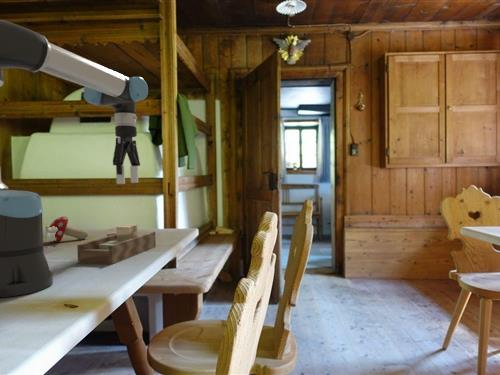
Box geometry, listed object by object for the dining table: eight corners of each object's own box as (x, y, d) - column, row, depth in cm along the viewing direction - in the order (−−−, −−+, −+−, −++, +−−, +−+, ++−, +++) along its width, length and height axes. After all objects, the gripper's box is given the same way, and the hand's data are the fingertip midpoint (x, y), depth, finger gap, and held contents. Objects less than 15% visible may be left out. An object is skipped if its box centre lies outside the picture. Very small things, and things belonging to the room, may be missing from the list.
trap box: (112, 264, 111) (111, 246, 111) (78, 262, 114) (77, 245, 114) (155, 246, 138) (155, 232, 137) (126, 246, 140) (126, 231, 140)
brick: (128, 243, 148) (128, 231, 148) (106, 244, 146) (106, 233, 145) (130, 237, 164) (129, 226, 164) (109, 238, 161) (109, 227, 161)
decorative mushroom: (93, 218, 161) (56, 208, 154) (90, 234, 152) (51, 225, 145) (84, 236, 165) (47, 228, 158) (81, 253, 157) (42, 245, 149)
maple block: (129, 241, 127) (129, 227, 127) (116, 241, 128) (116, 226, 128) (137, 238, 132) (137, 225, 132) (125, 238, 133) (124, 224, 133)
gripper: (122, 121, 124) (125, 184, 125) (146, 129, 149) (148, 182, 150) (100, 121, 125) (103, 184, 126) (128, 130, 150) (130, 182, 150)
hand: (128, 183), depth 138 cm, fingers open, 13 cm apart
